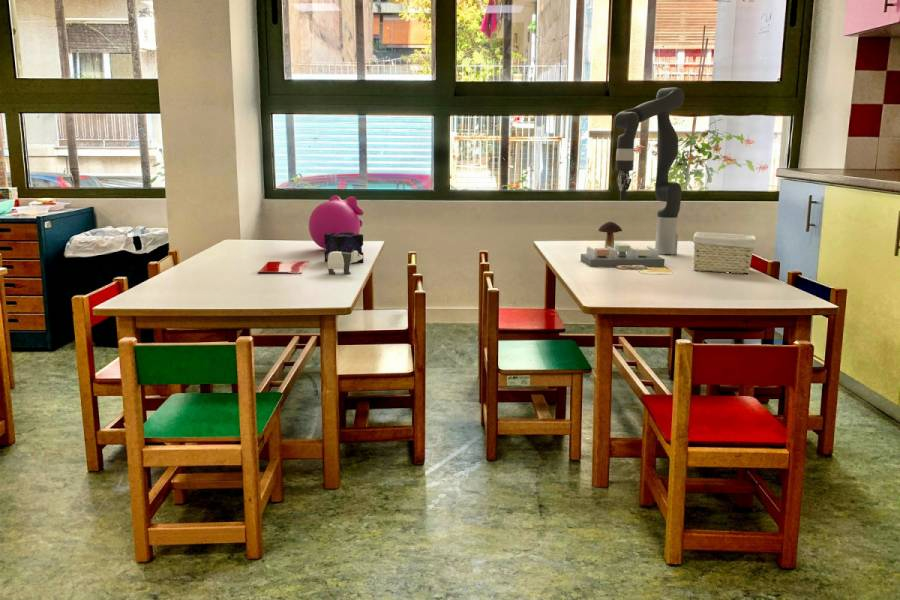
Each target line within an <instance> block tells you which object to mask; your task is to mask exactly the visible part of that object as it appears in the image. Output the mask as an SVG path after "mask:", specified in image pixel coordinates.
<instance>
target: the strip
mask: <svg viewBox="0 0 900 600" xmlns="http://www.w3.org/2000/svg"><path fill="white" fill-rule="evenodd" d="M615 268H616V269H617V270H648V266H642V265H632V266H629V265H619V266H615Z"/></svg>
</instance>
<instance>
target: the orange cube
mask: <svg viewBox="0 0 900 600" xmlns="http://www.w3.org/2000/svg"><path fill="white" fill-rule="evenodd" d="M594 249H595V250H597V255H598V257H605V256H609V249H607V248H605V247H595V248H594Z"/></svg>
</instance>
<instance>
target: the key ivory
mask: <svg viewBox="0 0 900 600" xmlns="http://www.w3.org/2000/svg"><path fill="white" fill-rule="evenodd" d="M634 249H636V250H638V255H639V257H646V256H647V255H650V249H647V247H635V248H634Z"/></svg>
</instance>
